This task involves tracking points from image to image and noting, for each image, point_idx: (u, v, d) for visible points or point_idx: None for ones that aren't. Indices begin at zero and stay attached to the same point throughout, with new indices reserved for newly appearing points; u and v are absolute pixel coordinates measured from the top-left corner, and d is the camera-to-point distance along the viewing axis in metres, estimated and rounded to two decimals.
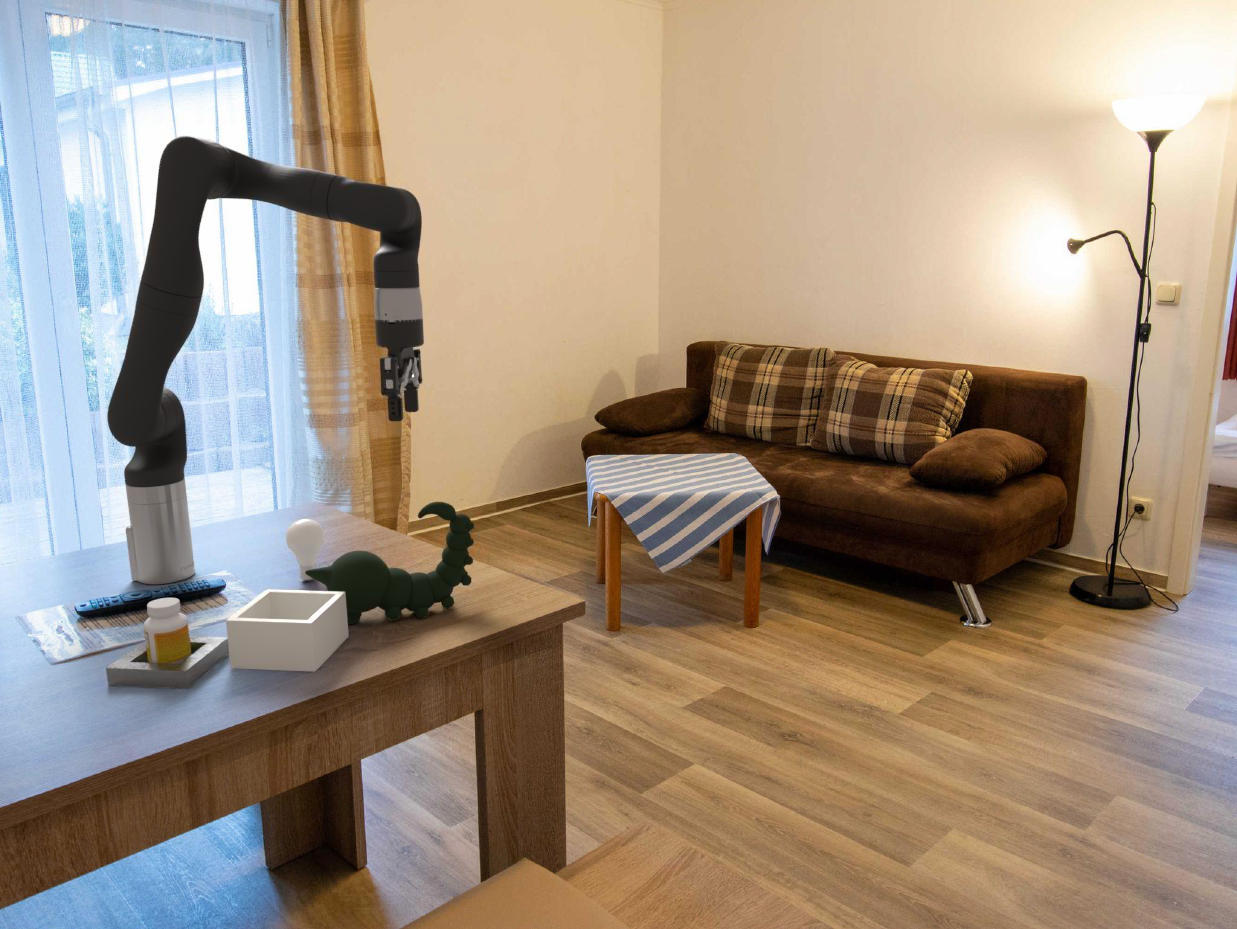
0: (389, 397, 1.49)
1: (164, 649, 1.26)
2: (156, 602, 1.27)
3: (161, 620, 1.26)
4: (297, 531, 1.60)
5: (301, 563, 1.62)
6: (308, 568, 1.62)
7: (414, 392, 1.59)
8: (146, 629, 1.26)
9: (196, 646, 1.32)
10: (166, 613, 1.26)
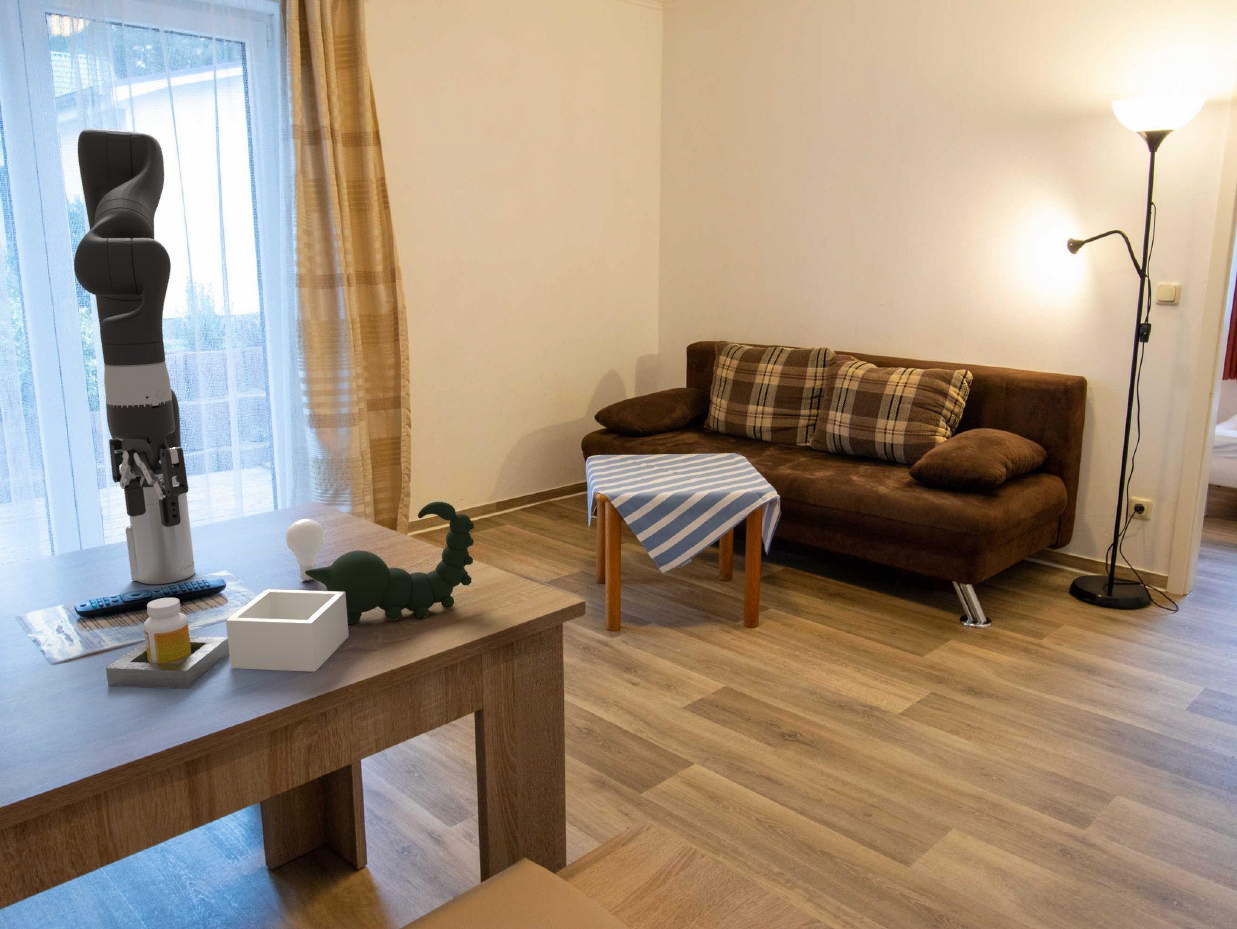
0: (170, 497, 1.21)
1: (164, 649, 1.26)
2: (156, 602, 1.27)
3: (161, 620, 1.26)
4: (297, 531, 1.60)
5: (301, 563, 1.62)
6: (308, 568, 1.62)
7: (140, 490, 1.27)
8: (146, 629, 1.26)
9: (196, 646, 1.32)
10: (166, 613, 1.26)
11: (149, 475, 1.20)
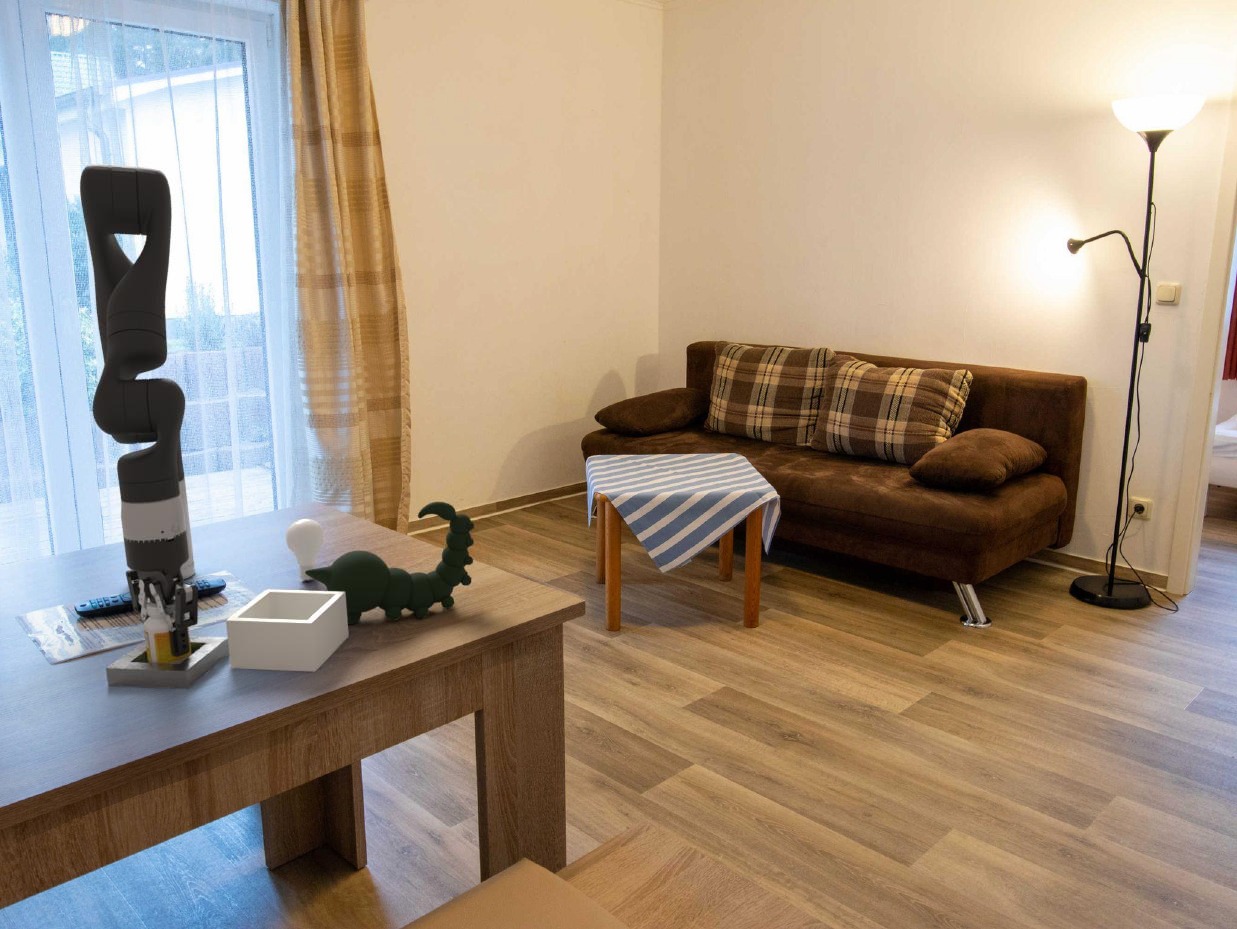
0: (180, 630, 1.25)
1: (164, 649, 1.26)
2: None
3: (161, 620, 1.26)
4: (297, 531, 1.60)
5: (301, 563, 1.62)
6: (308, 568, 1.62)
7: None
8: (146, 629, 1.26)
9: (196, 646, 1.32)
10: None
11: (162, 608, 1.24)
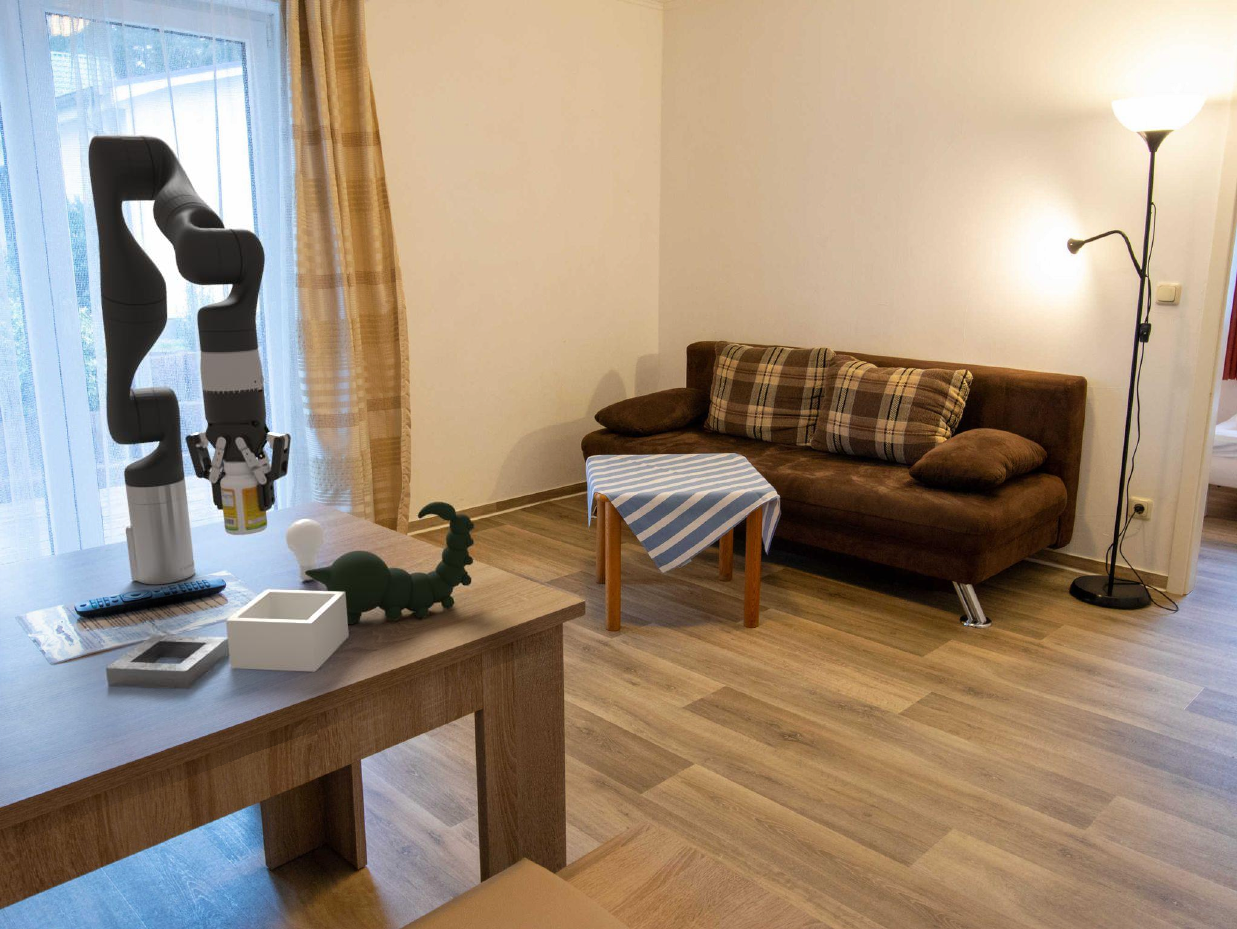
0: (271, 481, 1.27)
1: (252, 504, 1.26)
2: (232, 461, 1.26)
3: (245, 476, 1.26)
4: (297, 531, 1.60)
5: (301, 563, 1.62)
6: (308, 568, 1.62)
7: None
8: (231, 486, 1.25)
9: (196, 646, 1.32)
10: None
11: (254, 460, 1.25)
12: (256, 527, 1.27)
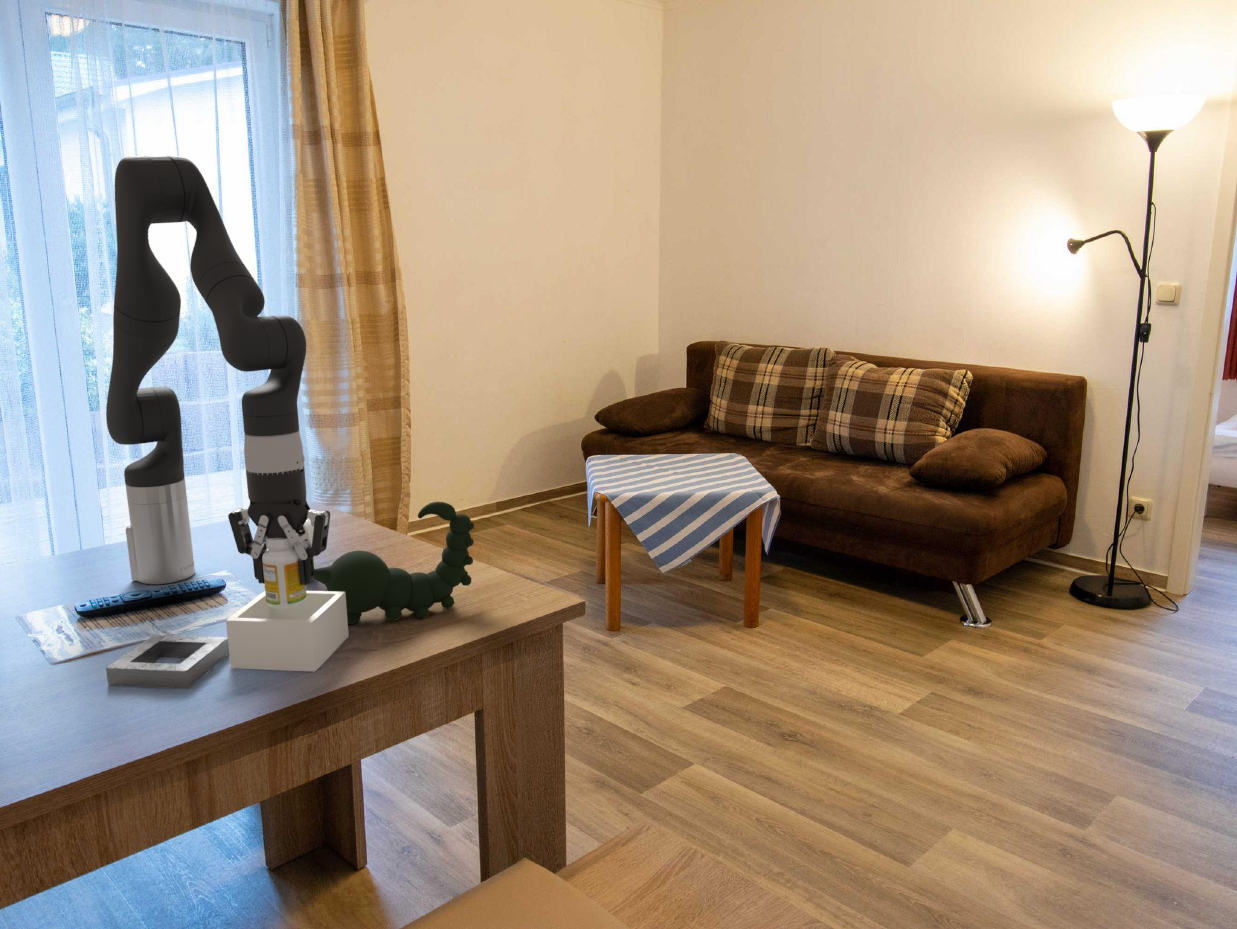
0: (311, 557, 1.31)
1: (293, 579, 1.31)
2: (274, 537, 1.31)
3: (287, 552, 1.30)
4: None
5: None
6: None
7: None
8: (273, 562, 1.29)
9: (196, 646, 1.32)
10: None
11: (295, 538, 1.29)
12: (297, 600, 1.32)
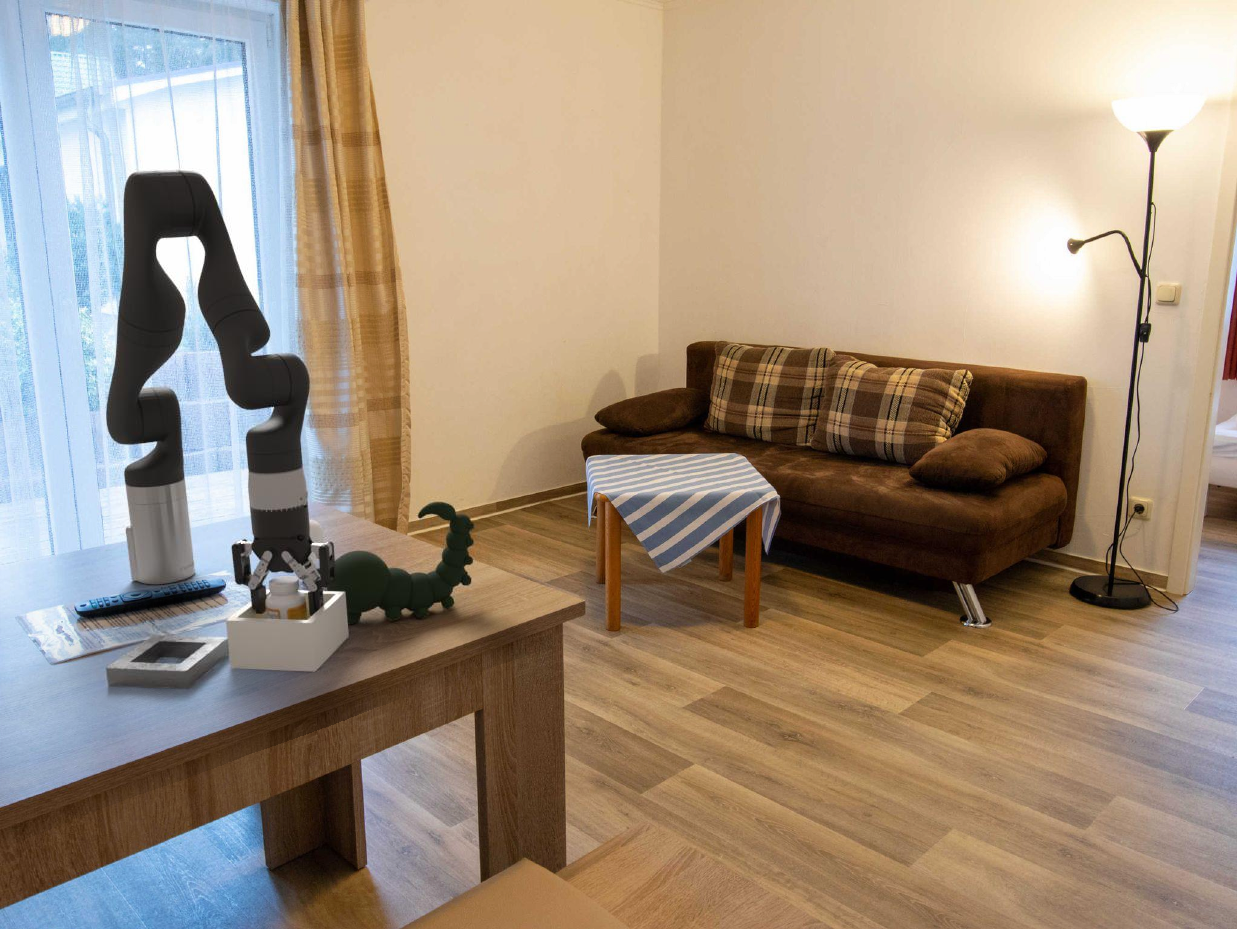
0: (321, 588, 1.32)
1: None
2: (277, 581, 1.32)
3: (290, 596, 1.32)
4: None
5: None
6: None
7: (264, 588, 1.34)
8: (277, 607, 1.31)
9: (196, 646, 1.32)
10: (295, 588, 1.32)
11: (302, 570, 1.30)
12: None
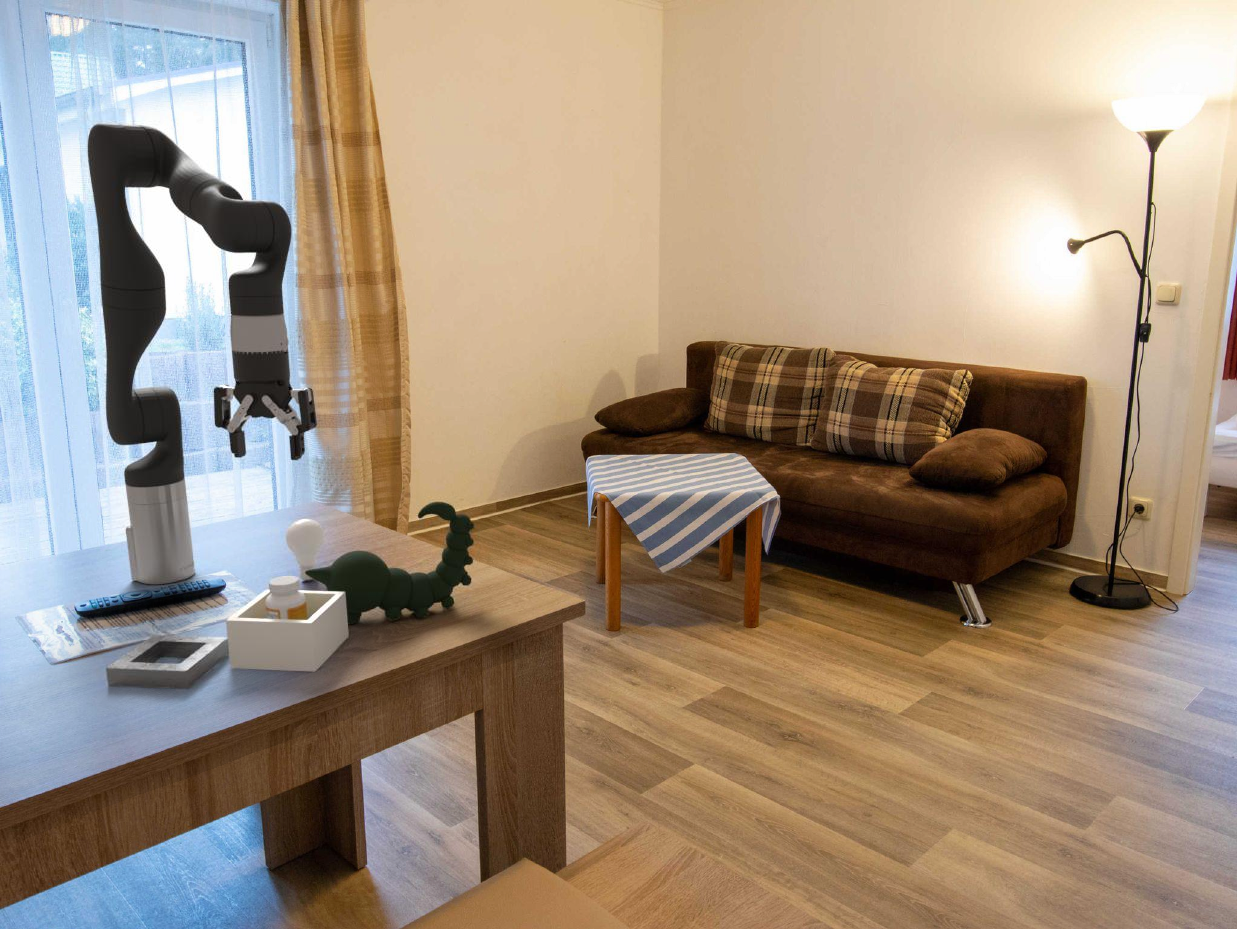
0: (302, 433, 1.36)
1: None
2: (277, 581, 1.32)
3: (290, 596, 1.32)
4: (297, 531, 1.60)
5: (301, 563, 1.62)
6: (308, 568, 1.62)
7: (242, 433, 1.38)
8: (277, 607, 1.31)
9: (196, 646, 1.32)
10: (295, 588, 1.32)
11: (282, 414, 1.34)
12: None
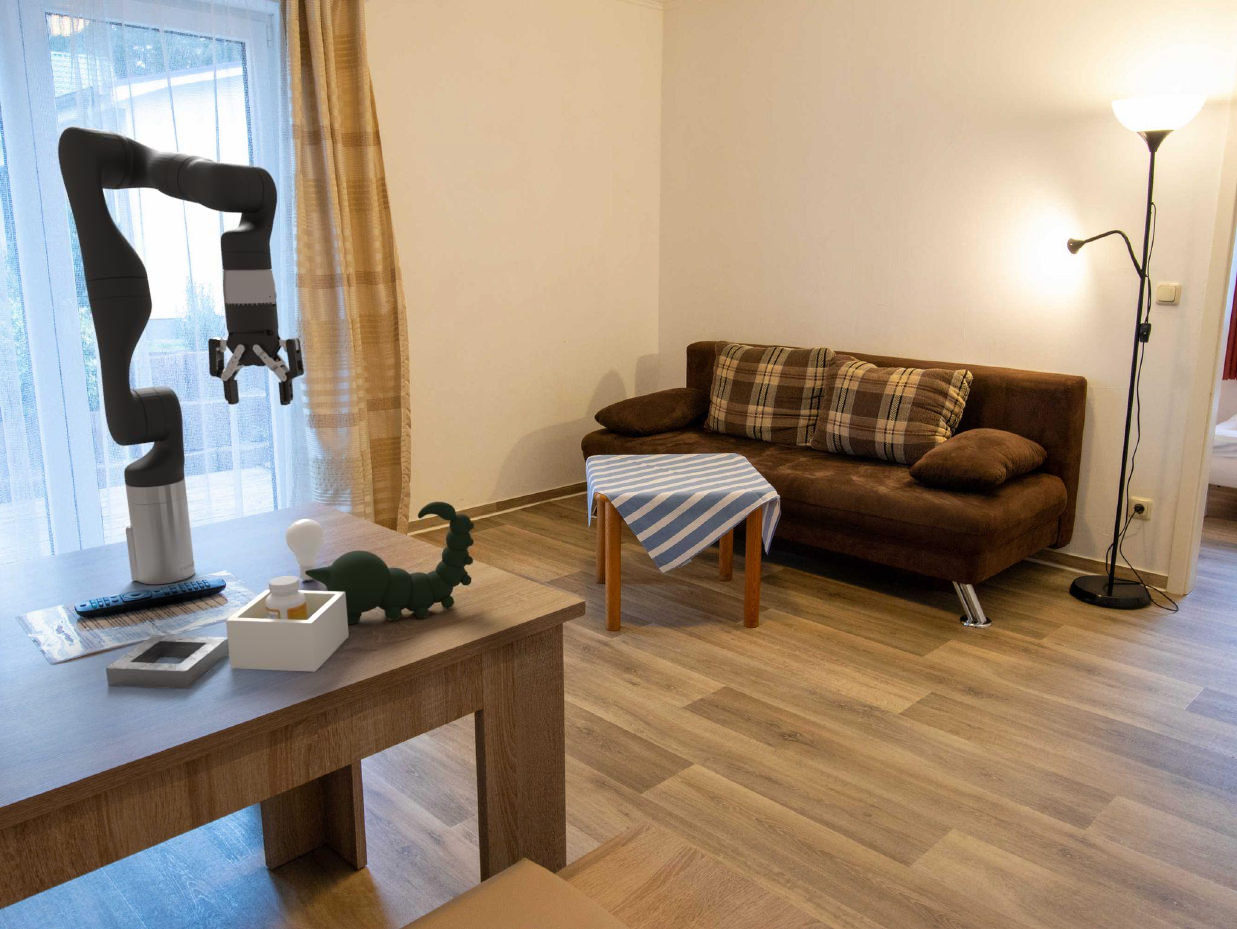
0: (290, 379, 1.48)
1: None
2: (277, 581, 1.32)
3: (290, 596, 1.32)
4: (297, 531, 1.60)
5: (301, 563, 1.62)
6: (308, 568, 1.62)
7: (235, 382, 1.50)
8: (276, 607, 1.31)
9: (196, 646, 1.32)
10: (295, 588, 1.32)
11: (272, 362, 1.46)
12: None
